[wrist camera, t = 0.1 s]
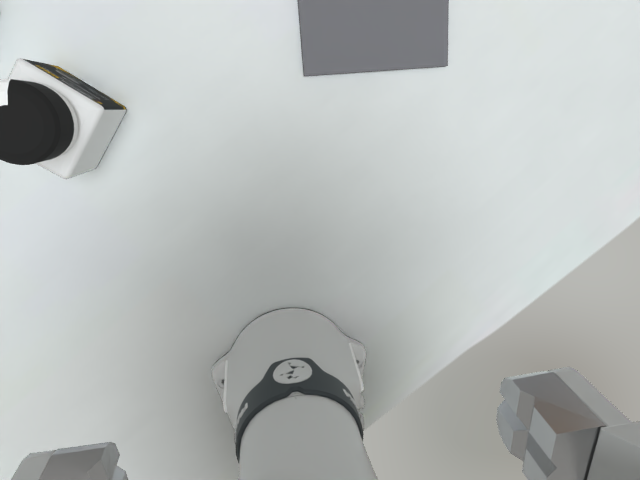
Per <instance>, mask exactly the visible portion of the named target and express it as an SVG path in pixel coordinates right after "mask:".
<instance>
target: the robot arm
mask: <svg viewBox="0 0 640 480" xmlns="http://www.w3.org/2000/svg"><path fill="white" fill-rule="evenodd" d="M356 360H357V362H356ZM365 360H366V350H365V347H364V346H363V344H361V343H360V342H358V341H356V340H354V339H352V338H349V337H347V336H345V335H344V334H343V333H342V332H341V331H340V330H339V329H338V327H337V326H336V325H335V324H334V323H333V322H331V321H330V320H329V319H328V318H326V317H324V316H323V315H321V314H319V313H316V312H313V311H310V310H306V309H299V308H287V309H280V310H275V311H272V312H269V313H267V314H264V315H262V316H260V317H259V318H257V319H255V320H254V321H253V322H251V323H250V324H249V325H248V326H247V327H246V328H245V329H244V330H243V331H242V332H241V333H240V335H239V336H238V338H237V339H236V341H235V343H234V345H233V347H232V348H231V350H230V351H229V352H228V353H227V354H226V355H225V356H223V357H222V358H221V359H219V360H218V361H217V362H216V363H215V364H214V365H213V367H212V378H213V381H214V383H215V386H216V388H217V390H218V393H219V395H220V397H221V400H222V402H223V408H224V412H226V413H227V414H228V416H229V419H230V421H231V423H232V426H233V428H234V430H235V443H236V456H237V459H238V463H239V480H378V479H377V476H376V474H375V472H374V470H373V468H372V465H371V462H370V460H369V458H368V455H367V452H366V450H365V447H364V444H363V430H364V420H363V415H362V413H359V409H363V408H364V405H365V401H364V397H363V396H361V392H363V391H364V386H363V382H362V377H363V371H364V366H365ZM222 379H224V381H223V380H222ZM500 393H501V395H502V396H503V397H504V399H505V400H504V401H503V402H502V403H501V404H500V406H499V407H498V409H497V425H498V429H499V433H500V436H501V438H502V440H503V443H504V444H505V446H506V447H507V449H508V450H509V452H510V453H511V454H513V455H514V456H516V457H517V458H519V459H521V460H522V461H523V470H522V471H523V473H524V475H525V476H526V478H527V479H528V480H640V421H636V422H631V421H630V420H629V419H628V418H627V417H626V416H625V415H624V414H623V413H622V412H621V411H620V410H619V409H618V408H617V407H616V406H614V405H613V404H612V403H611V402H610V401H609V400H608V399H607V398H606V397H605V396H604V395H603V394H602V393H601V392H599V390H597V388H595V387H594V386H593V385H592V384H591V383H590V382H589V381H588V380H587V379H586V378H585V377H584V376H583V375H582V374H581V373H579V372H578V370H576V369H574V368H572V367H565V368H559V369H554V370H548V371H542V372H536V373H531V374H524V375H519V376H513V377H507V378H504V379H503V381H502V382H501V387H500ZM119 456H120V454H119V452H118V449H117V447H116V444H115V443H112V442H106V443H99V444H92V445H85V446H77V447H70V448H63V449H57V450H52V451H44V452H37V453H30V454H29V455H28V456H27V457H26V458H24V459H23V460H22V462H21V463H20V465H19V467H18V469H17V470H16V472H15V474H14V476H13V477H12V479H11V480H128V478H127V474H126V471H125V470H123V469H121V468H120V467H118V466H117V462H118V459H119Z"/></svg>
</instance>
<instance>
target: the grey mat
mask: <svg viewBox="0 0 640 480" xmlns="http://www.w3.org/2000/svg"><path fill="white" fill-rule="evenodd" d="M448 4H449V0H298V9H299V21H300V34H301V47H302V59H303V72H304V76H314V75H329V74H343V73H357V72H372V71H386V70H400V69H415V68H429V67H444V66H448Z"/></svg>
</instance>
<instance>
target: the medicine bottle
mask: <svg viewBox="0 0 640 480" xmlns="http://www.w3.org/2000/svg"><path fill="white" fill-rule="evenodd" d="M125 113H126V107H125V106H123V105H121V104H120V103H118V102H116V101H115V100H113V99H111V98H110V97H108V96H106V95H105V94H103V93H101V92H100V91H98V90H96V89H95V88H93V87H91V86H90V85H88V84H86V83H85V82H83V81H82V80H80V79H78V78H77V77H75V76H73V75H72V74H70V73H68V72H67V71H65V70H63V69H62V68H60V67H58V66H54V65H49V64H44V63H39V62H35V61H30V60H25V59H17V60H16V62H15V64H14V66H13V68H12V71H11V73H10V75H9V77H8V79H0V159H1V160H3V161H5V162H8V163H12V164H17V165H29V164H34V163H35V164H37V165H39V166H41V167H43V168H45V169H47V170H49V171H51V172H52V173H54V174H56V175H58V176H60V177H62V178H64V179H69V178H72V177H74V176H77V175H80V174H82V173H85V172H88V171H91V170H93V169H95V168H96V167H97V166H98V164H99V162H100V160H101V158H102V156H103V154H104V152H105V150H106V149H107V147H108V145H109V143H110V141H111V139H112V137H113V135H114V133H115V132H116V130H117V128H118V126H119V124H120V122H121V120H122V118H123V116H124V115H125Z"/></svg>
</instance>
